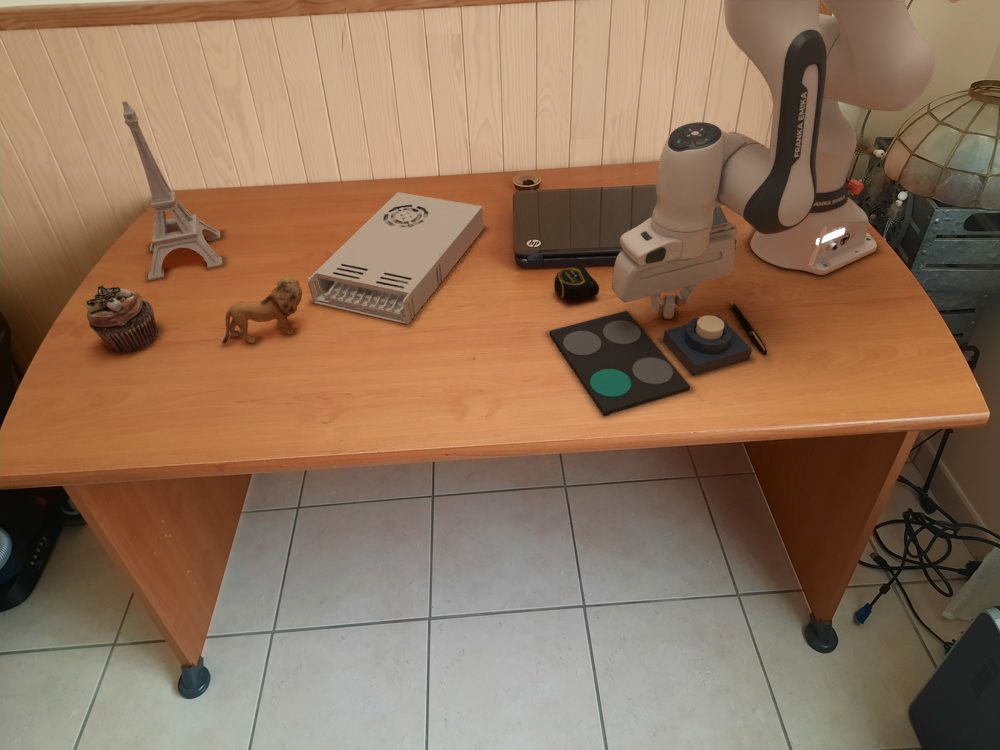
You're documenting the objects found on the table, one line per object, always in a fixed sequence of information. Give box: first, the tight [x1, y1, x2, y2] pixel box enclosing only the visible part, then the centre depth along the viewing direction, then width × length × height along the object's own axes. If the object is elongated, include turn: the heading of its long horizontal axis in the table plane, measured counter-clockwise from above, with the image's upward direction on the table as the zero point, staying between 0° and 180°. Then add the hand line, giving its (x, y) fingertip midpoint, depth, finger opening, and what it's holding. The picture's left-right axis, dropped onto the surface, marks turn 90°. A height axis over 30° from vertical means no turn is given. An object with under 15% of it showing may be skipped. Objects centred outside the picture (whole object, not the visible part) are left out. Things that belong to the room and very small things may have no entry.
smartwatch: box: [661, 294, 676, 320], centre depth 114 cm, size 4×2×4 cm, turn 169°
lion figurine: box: [221, 276, 303, 344], centre depth 114 cm, size 15×5×9 cm, turn 116°
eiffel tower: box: [121, 100, 223, 282], centre depth 126 cm, size 13×13×30 cm
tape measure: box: [553, 264, 600, 302], centre depth 120 cm, size 7×7×4 cm
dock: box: [662, 315, 753, 377], centre depth 108 cm, size 10×9×4 cm
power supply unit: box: [307, 191, 485, 325], centre depth 129 cm, size 19×33×5 cm, turn 158°
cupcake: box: [85, 284, 159, 354], centre depth 114 cm, size 10×10×10 cm
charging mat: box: [549, 310, 691, 416], centre depth 108 cm, size 14×20×1 cm
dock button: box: [696, 314, 724, 340], centre depth 106 cm, size 4×4×2 cm
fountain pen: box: [729, 300, 768, 355], centre depth 112 cm, size 14×1×2 cm, turn 9°
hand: (668, 307), depth 115 cm, fingers closed on smartwatch, 3 cm apart
